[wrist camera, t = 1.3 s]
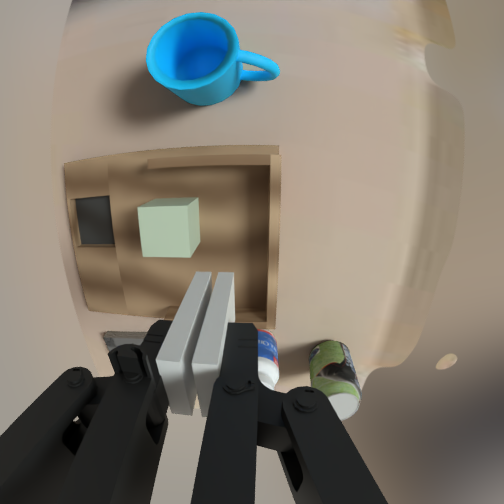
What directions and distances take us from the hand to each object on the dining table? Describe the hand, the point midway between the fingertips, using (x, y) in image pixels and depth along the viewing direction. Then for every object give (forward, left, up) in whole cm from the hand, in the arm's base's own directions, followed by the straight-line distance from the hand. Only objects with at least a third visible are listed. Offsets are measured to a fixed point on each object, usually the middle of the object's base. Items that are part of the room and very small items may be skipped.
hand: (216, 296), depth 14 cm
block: (0, -7, -17) cm, 18 cm away
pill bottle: (+17, +2, -19) cm, 26 cm away
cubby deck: (+2, -9, -18) cm, 21 cm away
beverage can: (+19, +12, -19) cm, 30 cm away
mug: (-17, -2, -19) cm, 25 cm away
